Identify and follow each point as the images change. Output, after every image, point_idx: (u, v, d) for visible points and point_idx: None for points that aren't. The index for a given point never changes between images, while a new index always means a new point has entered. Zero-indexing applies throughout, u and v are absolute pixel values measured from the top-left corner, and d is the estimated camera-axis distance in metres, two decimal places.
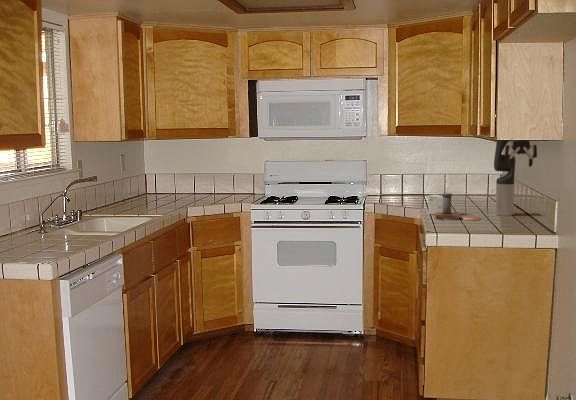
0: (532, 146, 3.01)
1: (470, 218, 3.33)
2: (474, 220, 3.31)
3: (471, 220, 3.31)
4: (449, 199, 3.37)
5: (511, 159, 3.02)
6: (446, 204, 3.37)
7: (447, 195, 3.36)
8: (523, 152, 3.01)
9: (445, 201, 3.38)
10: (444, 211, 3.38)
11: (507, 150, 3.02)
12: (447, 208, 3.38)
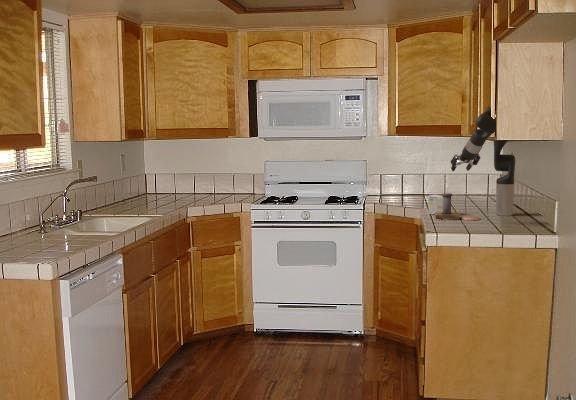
0: (476, 157, 3.20)
1: (470, 218, 3.33)
2: (474, 220, 3.31)
3: (471, 220, 3.31)
4: (449, 199, 3.37)
5: (455, 166, 3.21)
6: (446, 204, 3.37)
7: (447, 195, 3.36)
8: (467, 162, 3.20)
9: (445, 201, 3.38)
10: (444, 211, 3.38)
11: (455, 161, 3.17)
12: (447, 208, 3.38)
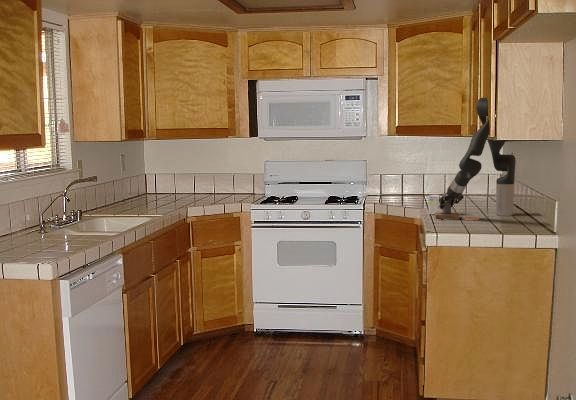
0: (460, 196, 3.35)
1: (470, 218, 3.33)
2: (474, 220, 3.31)
3: (471, 220, 3.31)
4: None
5: (443, 205, 3.38)
6: (446, 204, 3.37)
7: None
8: (451, 199, 3.35)
9: None
10: (444, 211, 3.38)
11: (441, 200, 3.33)
12: (447, 208, 3.38)
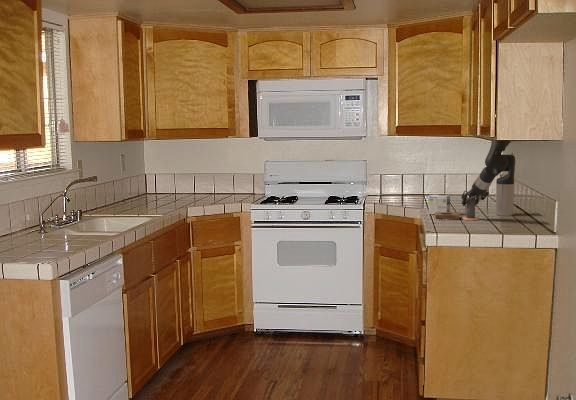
0: (485, 192, 3.30)
1: (470, 218, 3.33)
2: (474, 220, 3.31)
3: (471, 220, 3.31)
4: (473, 198, 3.32)
5: (466, 202, 3.32)
6: (470, 204, 3.32)
7: None
8: (476, 196, 3.30)
9: (469, 201, 3.32)
10: (468, 210, 3.33)
11: (465, 197, 3.28)
12: (471, 207, 3.32)
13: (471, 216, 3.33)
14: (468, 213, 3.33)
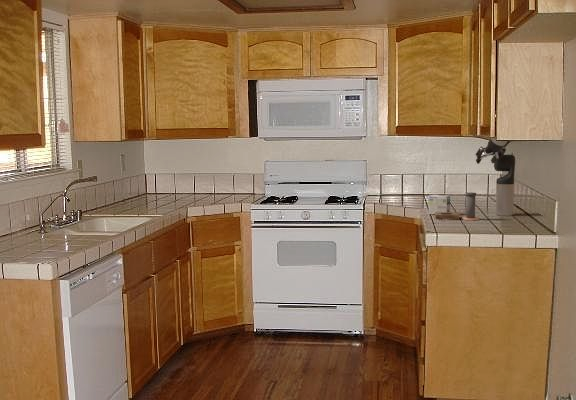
0: (502, 149, 3.14)
1: (470, 218, 3.33)
2: (474, 220, 3.31)
3: (471, 220, 3.31)
4: (473, 198, 3.32)
5: (481, 159, 3.16)
6: (470, 203, 3.32)
7: (472, 194, 3.31)
8: (493, 154, 3.15)
9: (469, 201, 3.32)
10: (468, 210, 3.33)
11: (481, 153, 3.12)
12: (471, 207, 3.32)
13: (471, 216, 3.33)
14: (468, 213, 3.33)
